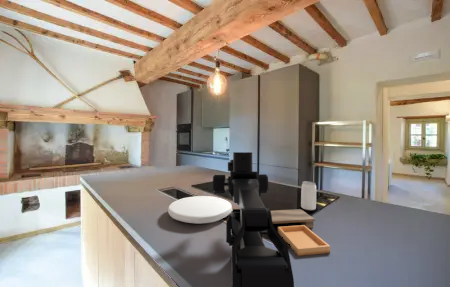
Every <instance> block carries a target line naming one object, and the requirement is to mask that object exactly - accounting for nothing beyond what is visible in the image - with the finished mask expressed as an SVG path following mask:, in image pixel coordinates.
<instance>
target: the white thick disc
mask: <svg viewBox="0 0 450 287" xmlns="http://www.w3.org/2000/svg"><path fill="white" fill-rule="evenodd" d="M232 209H233V206H232V203H231V202H230V201H228V200H227V199H223V198H220V197H217V196H212V195H211V196H210V195H209V196H208V195H196V196H188V197H183V198H180V199H177V200H175V201H173V202H172V203H170V204H169V206H168V208H167V212H168V215H169V216H170V217H171V218H172V219H174V220H176V221H178V222H179V221H180V222H183V223H189V224H196V225H197V224H210V223H215V222H218V221H220V220H222V219H223V218H227V216H228V217H229V215H231V212H232Z"/></svg>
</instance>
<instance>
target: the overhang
mask: <svg viewBox="0 0 450 287" xmlns="http://www.w3.org/2000/svg"><path fill="white" fill-rule="evenodd" d="M270 211H271V216H272V223H273V225H275V224H289V223H299V224H300V225H305V226H306V227H307V228H309V229H313V228H314V222H315V220H316V219H315V218H314V217H313V216H311V215H310V214H308V213H307V212H306V211H304V209H301V208H298V209H296V208H295V209H280V210H279V209H277V210H270Z"/></svg>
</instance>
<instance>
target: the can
mask: <svg viewBox="0 0 450 287" xmlns="http://www.w3.org/2000/svg"><path fill="white" fill-rule="evenodd" d="M300 194H301V195H300V207H301V208H302V210H305V211H315V210H316V208H317V185H316V182H314V181H310V180H309V181H305V180H304V181H302V184H301V190H300Z"/></svg>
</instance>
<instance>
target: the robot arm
mask: <svg viewBox="0 0 450 287" xmlns="http://www.w3.org/2000/svg"><path fill="white" fill-rule="evenodd" d="M232 155H233V156H232V158H233V159H230V161H228V162H227V171H228V172H230V175H229V176H227V177H228V178H227V177H226V174H214V175H213V176H212V192H213V193H214V194H225V193H226V192H227V191H228V194H229V196H230V197H231V198H232V201H233V203H235V204H237V205H238V206H239V208H232V211H231V213H230V214H229V215H228V218H227V219H226V223H225V224H226V227H225V229H226V232H225V233H226V234H225V238H226V239H225V240H226V243H227V244H228V246H229V247H231V256H230V257H229V258H230V263H231V287H295V280H294V273H293V268H292V263H291V257H290V253H289V248H288V244H287V243H286V241H285V240H284V239H283V238H282V237H281V236H280V234H279V233H278V229H276V228H275V226H274V224H273V223H272V216H271V211H272V210H271V209H270V208H267V207H266V206H265V204H264V202H263V201H262V198H261V194H267V193H269V176H268V175H267V174H265V173H263V174H262V173H261V174H260V173H258V171H254V170H253V152H243V151H242V152H241V151H240V152H237V151H236V152H235V151H234V152H232ZM263 233H266V235H267V238H269V240H270V241H271V243H272V245H274V247H275V249H274V248H270V247H266V245H265V243H264V241H263Z"/></svg>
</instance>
